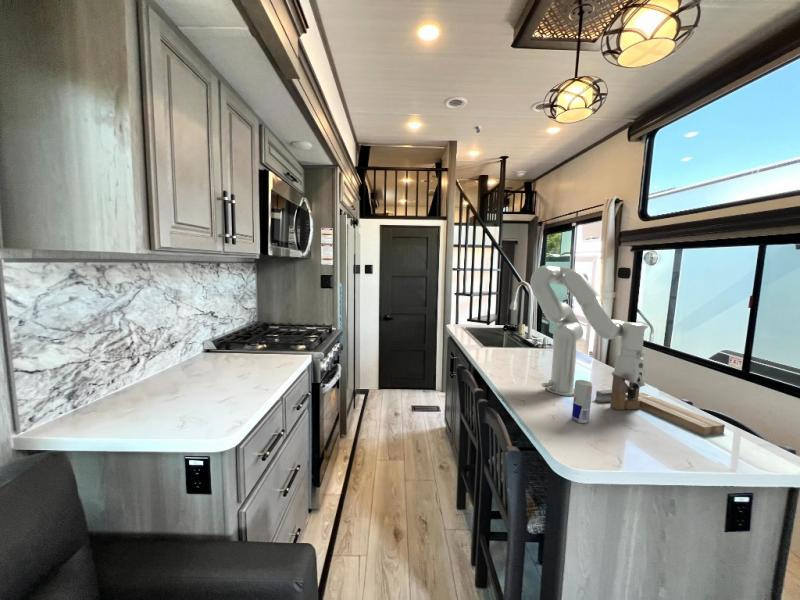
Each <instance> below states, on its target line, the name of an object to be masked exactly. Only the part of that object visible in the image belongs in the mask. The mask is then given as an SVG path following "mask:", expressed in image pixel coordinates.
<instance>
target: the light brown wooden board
mask: <svg viewBox="0 0 800 600" xmlns="http://www.w3.org/2000/svg"><path fill="white" fill-rule="evenodd" d="M627 396H628V393H626V397H625V398H627ZM638 400H639V401H640V407H639V409H642V410H645V411H646V412H648V413H650V414H653V415H655V416H658V417H660V418H663V419H665V420H668V421H669V422H671V423H674V424H675V425H677V426H679V427H680V426H681V427H683V428H685V429H687V430H690V431H691V432H694V433H697V434H699V435H701V436H703V437H704V436H710V435H711V436H712V435H717V434H724V433H725V426H726V425H725V424H724V423H721V422H718V421H716V420H714V419H711V418H708V417H706V416H703V415H700V414H698V413H696V412H693V411H691V410H688V409H685V408H682V407H680V406H678V405H676V404H673V403H670V402H668V401H665V400H663V399H660V398H657V397H655V396H652V395H649V394H647V393H645V392H639V397H638Z"/></svg>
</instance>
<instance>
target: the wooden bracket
mask: <svg viewBox="0 0 800 600" xmlns="http://www.w3.org/2000/svg"><path fill="white" fill-rule="evenodd" d="M637 382H638V381H637ZM611 383H612V384H611V385H612V386H611V390H612V395H611V402H610V406H609V407H611V408H612V409H614V410H616V411H625V410H639V409H640V401H639V400H638V397H639V393H640V388H638V389H636V394H635V398H633V399H628V398H625V397H626V394H628V389H630V383H629V382H628V383H629V384H627V383H626V380H625V381H624V380H623V379H622V378H621V377H620V376H618V375H615V374H613V375H612V382H611ZM638 384H639V382H638ZM633 386H634V383H633Z"/></svg>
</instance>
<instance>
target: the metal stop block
mask: <svg viewBox="0 0 800 600" xmlns="http://www.w3.org/2000/svg"><path fill="white" fill-rule="evenodd" d="M611 395H612V389H606V390H605V389H603V390H596V392H595V396H596V397H595V400H596V401H598V402H599V403H611Z"/></svg>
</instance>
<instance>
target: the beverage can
mask: <svg viewBox="0 0 800 600" xmlns="http://www.w3.org/2000/svg"><path fill="white" fill-rule="evenodd" d="M592 391H593V382H591V381H588V380H584V379H576V380H575V381H574V396H573V399H572V400H573V401H572V413H571V419H572V420H573V421H575V422H576V423H580V424H588V423H589V422H590V412H591V403H592Z"/></svg>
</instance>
